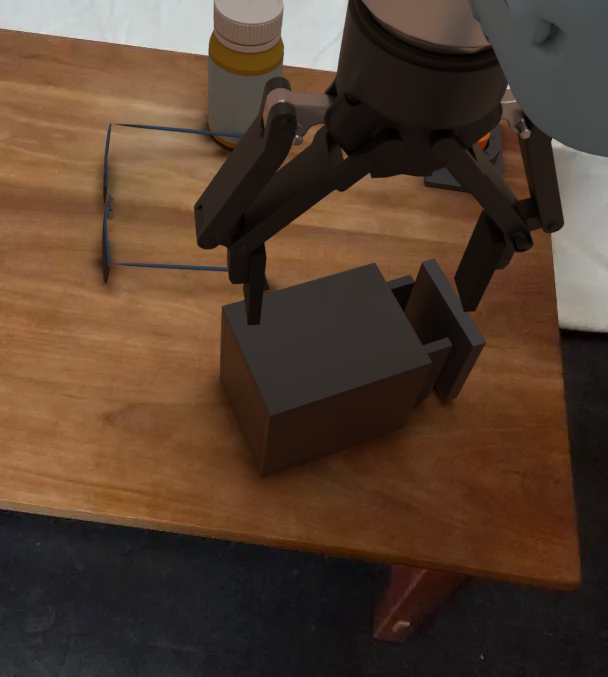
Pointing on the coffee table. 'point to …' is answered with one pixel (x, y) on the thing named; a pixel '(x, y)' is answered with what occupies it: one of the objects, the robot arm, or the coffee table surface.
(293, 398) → the dark grey drawer box
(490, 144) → the block
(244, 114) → the bottle
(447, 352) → the pulled-out drawer
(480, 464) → the coffee table surface
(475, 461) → the coffee table surface
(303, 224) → the coffee table surface
